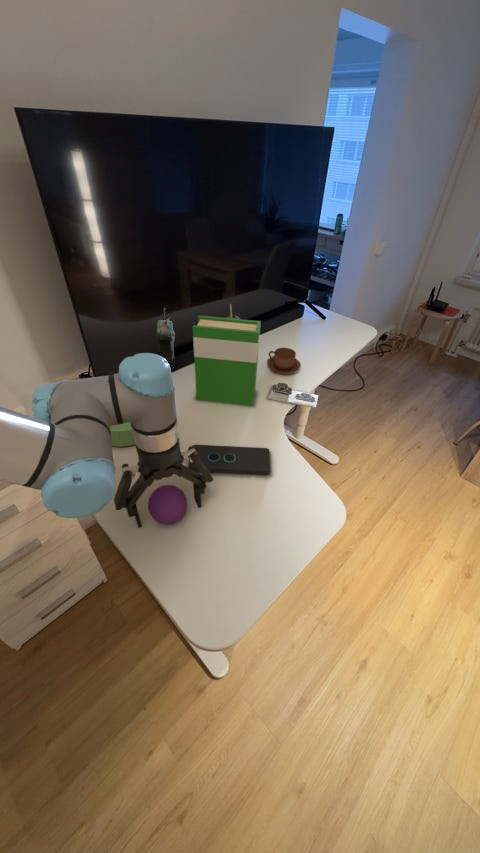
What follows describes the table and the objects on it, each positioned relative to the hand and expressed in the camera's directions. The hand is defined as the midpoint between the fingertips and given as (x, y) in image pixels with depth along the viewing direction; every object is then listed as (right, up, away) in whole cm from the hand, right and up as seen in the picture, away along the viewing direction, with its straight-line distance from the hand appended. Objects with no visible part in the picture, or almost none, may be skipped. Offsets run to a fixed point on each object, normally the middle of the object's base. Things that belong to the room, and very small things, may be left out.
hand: (169, 512), depth 74 cm
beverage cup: (+12, +45, +54) cm, 71 cm away
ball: (0, +2, -2) cm, 3 cm away
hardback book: (+11, +28, +35) cm, 46 cm away
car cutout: (+32, +28, +36) cm, 56 cm away
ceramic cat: (-10, +43, +51) cm, 68 cm away
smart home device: (+13, +9, +14) cm, 21 cm away
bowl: (-16, +19, +23) cm, 34 cm away
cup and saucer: (+31, +39, +49) cm, 70 cm away
